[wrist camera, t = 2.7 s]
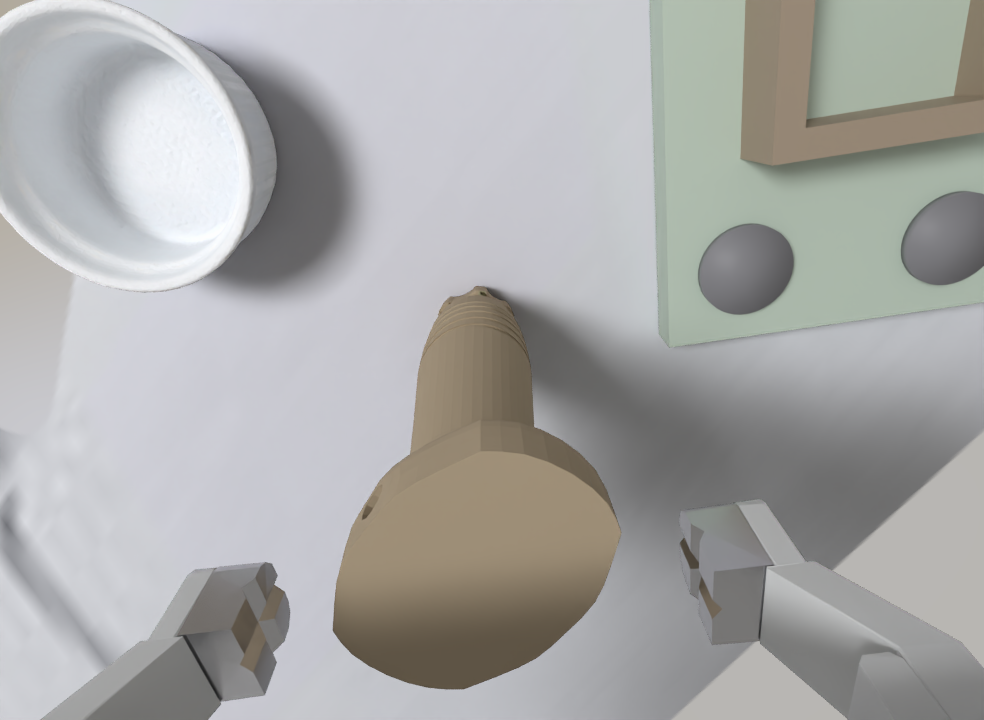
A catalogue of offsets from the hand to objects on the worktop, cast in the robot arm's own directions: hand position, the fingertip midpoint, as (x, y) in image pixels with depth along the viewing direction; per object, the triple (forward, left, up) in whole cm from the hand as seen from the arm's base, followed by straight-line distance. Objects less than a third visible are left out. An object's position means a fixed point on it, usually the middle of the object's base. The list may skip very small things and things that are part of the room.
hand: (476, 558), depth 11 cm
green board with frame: (+7, -15, -15) cm, 22 cm away
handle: (0, 0, -15) cm, 15 cm away
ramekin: (+8, +11, -15) cm, 20 cm away
